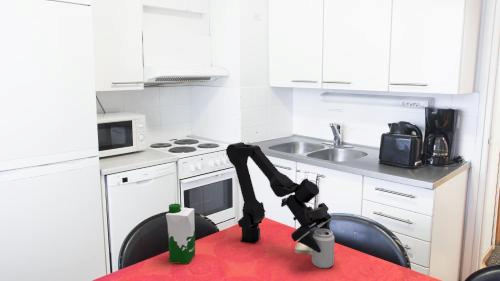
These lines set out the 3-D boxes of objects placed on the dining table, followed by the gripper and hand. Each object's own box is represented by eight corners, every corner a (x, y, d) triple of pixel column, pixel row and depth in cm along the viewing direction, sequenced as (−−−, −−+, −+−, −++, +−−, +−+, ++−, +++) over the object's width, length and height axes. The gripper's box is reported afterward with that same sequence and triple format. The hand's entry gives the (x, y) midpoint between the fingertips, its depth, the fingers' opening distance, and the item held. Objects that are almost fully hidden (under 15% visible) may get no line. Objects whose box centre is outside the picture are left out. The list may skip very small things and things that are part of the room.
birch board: (294, 252, 148) (294, 249, 147) (299, 240, 158) (299, 237, 158) (324, 256, 145) (324, 252, 144) (327, 243, 155) (327, 240, 155)
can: (335, 269, 135) (336, 235, 133) (313, 269, 135) (313, 236, 133) (331, 259, 142) (332, 227, 140) (310, 259, 143) (311, 227, 141)
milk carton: (175, 252, 149) (173, 201, 146) (198, 254, 148) (196, 202, 144) (166, 263, 141) (163, 209, 137) (190, 265, 139) (188, 210, 136)
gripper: (299, 204, 130) (328, 245, 125) (327, 191, 144) (354, 227, 139) (279, 222, 137) (306, 261, 132) (308, 207, 151) (333, 242, 146)
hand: (326, 247), depth 137 cm, fingers open, 9 cm apart
